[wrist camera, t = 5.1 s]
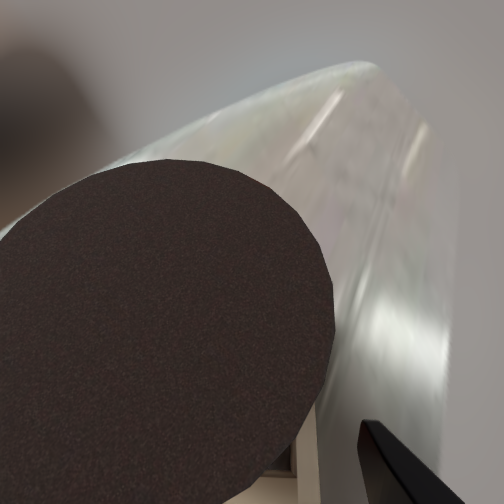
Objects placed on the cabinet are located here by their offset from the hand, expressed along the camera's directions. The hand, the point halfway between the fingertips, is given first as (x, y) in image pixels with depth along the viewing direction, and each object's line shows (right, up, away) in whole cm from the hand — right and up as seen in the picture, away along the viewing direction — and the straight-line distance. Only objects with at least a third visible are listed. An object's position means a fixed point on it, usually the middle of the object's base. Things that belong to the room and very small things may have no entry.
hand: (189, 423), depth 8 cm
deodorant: (0, -4, +10) cm, 11 cm away
